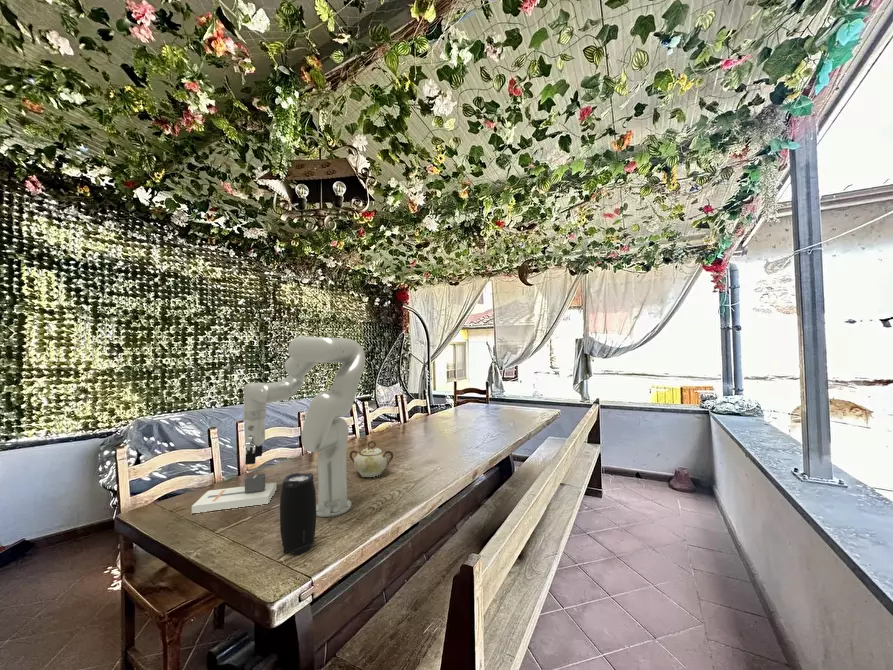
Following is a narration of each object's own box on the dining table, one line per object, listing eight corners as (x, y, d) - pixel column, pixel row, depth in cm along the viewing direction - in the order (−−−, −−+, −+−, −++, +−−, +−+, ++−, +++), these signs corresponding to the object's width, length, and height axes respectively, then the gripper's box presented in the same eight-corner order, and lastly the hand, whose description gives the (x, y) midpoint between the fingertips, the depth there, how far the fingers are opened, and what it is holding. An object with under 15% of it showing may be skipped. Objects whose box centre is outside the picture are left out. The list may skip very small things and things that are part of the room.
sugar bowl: (396, 468, 158) (396, 436, 158) (389, 480, 143) (388, 445, 144) (355, 469, 159) (355, 437, 160) (343, 481, 144) (343, 445, 145)
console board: (268, 504, 123) (268, 495, 123) (191, 515, 117) (191, 505, 117) (276, 490, 137) (276, 482, 137) (208, 498, 130) (208, 490, 130)
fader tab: (262, 490, 127) (262, 476, 128) (244, 493, 126) (244, 479, 126) (265, 486, 131) (265, 473, 131) (247, 488, 130) (248, 475, 130)
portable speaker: (282, 543, 97) (281, 474, 98) (316, 536, 100) (316, 469, 101) (278, 560, 89) (278, 484, 90) (316, 552, 92) (315, 478, 93)
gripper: (259, 418, 123) (259, 466, 122) (270, 410, 139) (270, 452, 139) (236, 419, 121) (235, 468, 120) (250, 411, 137) (249, 454, 136)
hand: (254, 459), depth 129 cm, fingers open, 9 cm apart
